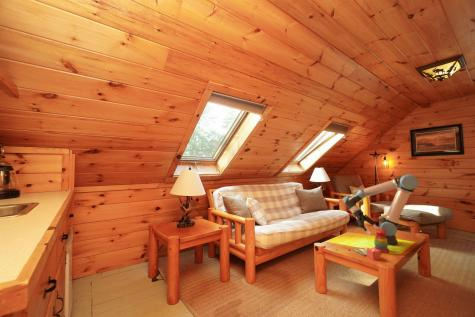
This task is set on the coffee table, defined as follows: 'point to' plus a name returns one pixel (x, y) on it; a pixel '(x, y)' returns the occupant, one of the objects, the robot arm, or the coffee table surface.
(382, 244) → the stacking bear
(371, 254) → the red die
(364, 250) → the game track
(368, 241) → the coffee table surface
